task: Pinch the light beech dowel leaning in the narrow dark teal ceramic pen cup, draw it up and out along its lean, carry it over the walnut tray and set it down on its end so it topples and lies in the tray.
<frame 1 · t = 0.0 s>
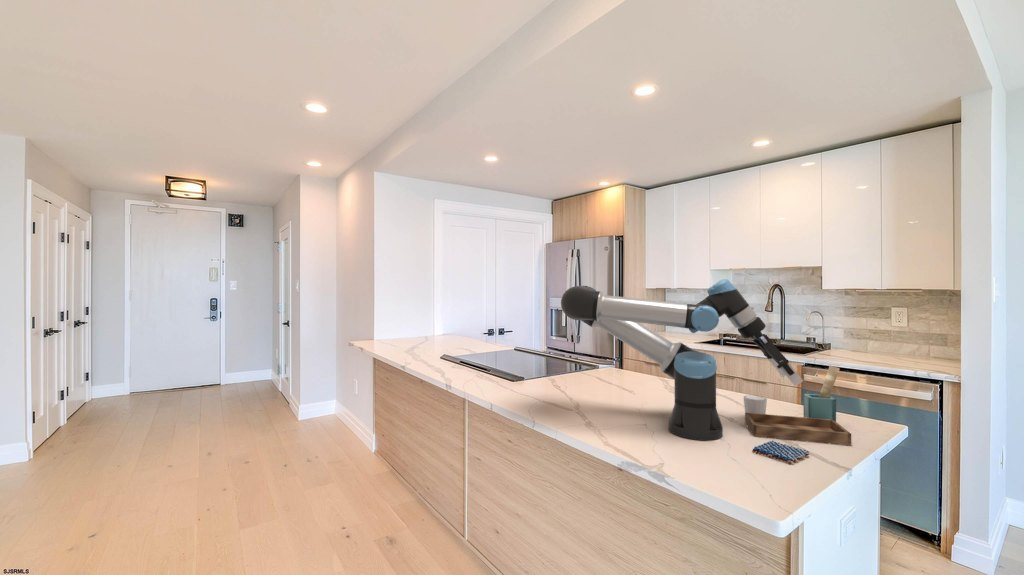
hand: (792, 378, 136), 15 cm above the table, tool tilted 35°, fingers open, 13 cm apart
tray: (794, 433, 131), on the table
woven mat: (781, 457, 115), on the table
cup: (819, 424, 140), on the table
shot glass: (755, 419, 146), on the table
dowel: (825, 393, 139), point 10 cm above the table, touching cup
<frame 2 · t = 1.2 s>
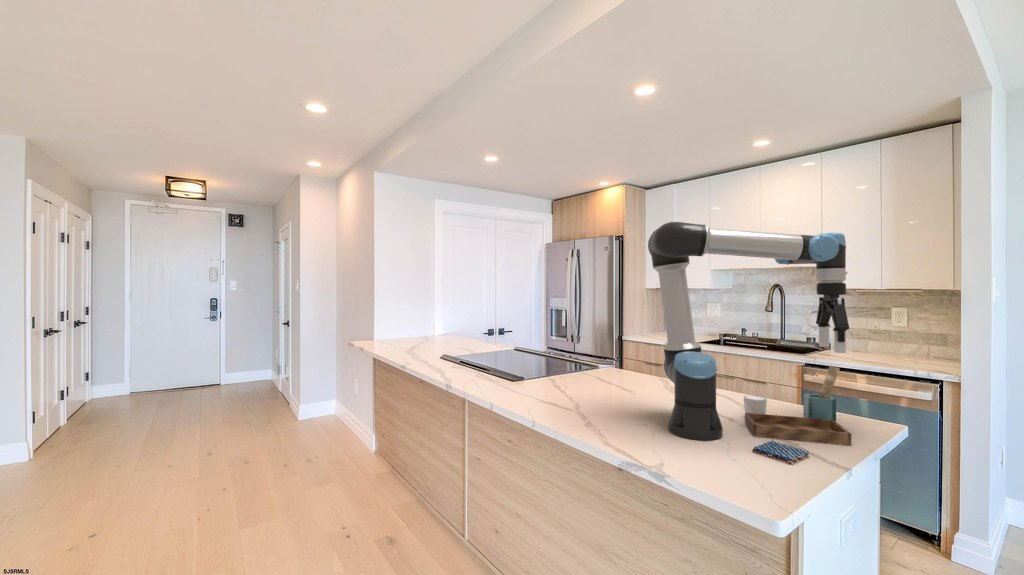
hand: (831, 349, 138), 24 cm above the table, tool pointing down, fingers open, 13 cm apart
nothing on the table moved.
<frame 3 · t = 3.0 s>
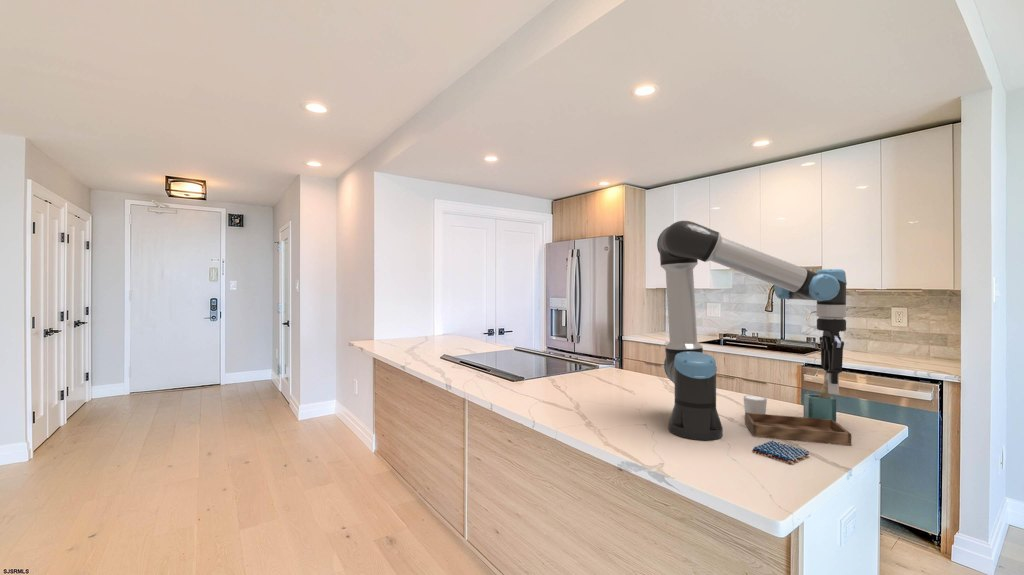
hand: (831, 392, 139), 11 cm above the table, tool pointing down, fingers closed on dowel, 2 cm apart
dowel: (825, 393, 139), point 10 cm above the table, touching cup, gripper
everything else where it was.
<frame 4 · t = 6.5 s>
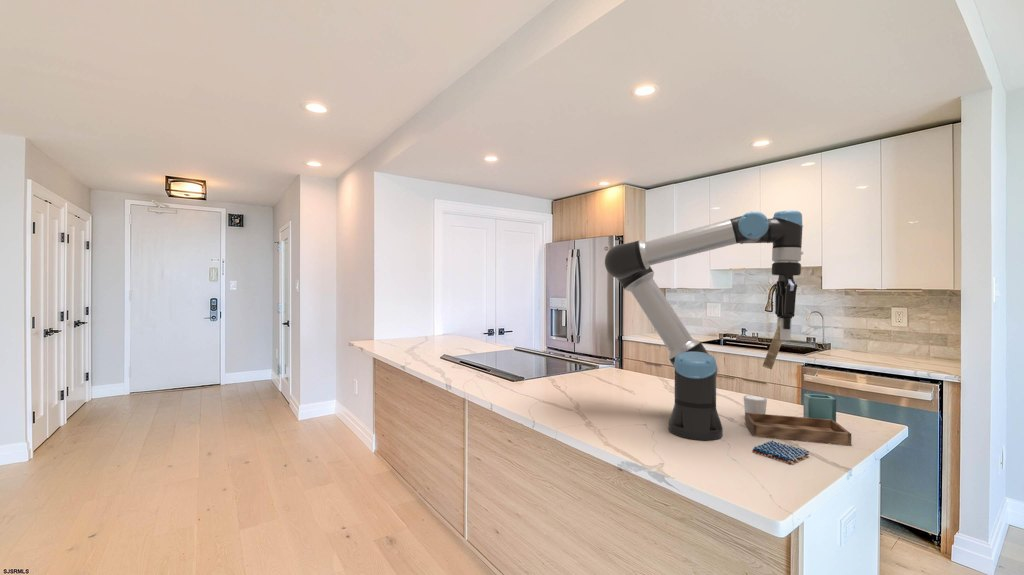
hand: (783, 339, 134), 28 cm above the table, tool pointing down, fingers closed on dowel, 2 cm apart
dowel: (777, 340, 135), point 27 cm above the table, touching gripper
everything else where it was.
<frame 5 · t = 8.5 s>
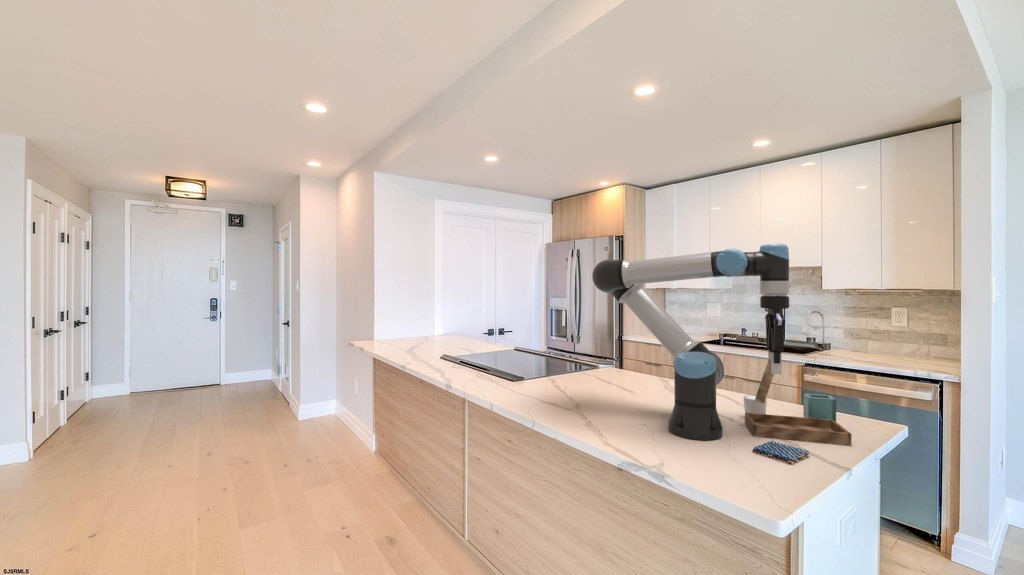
hand: (774, 372, 133), 18 cm above the table, tool pointing down, fingers closed on dowel, 2 cm apart
dowel: (768, 374, 133), point 17 cm above the table, touching gripper
everything else where it was.
when the fingers open (11 cm above the table, at t = 9.8 s): dowel drops 9 cm and tips over, resting on tray.
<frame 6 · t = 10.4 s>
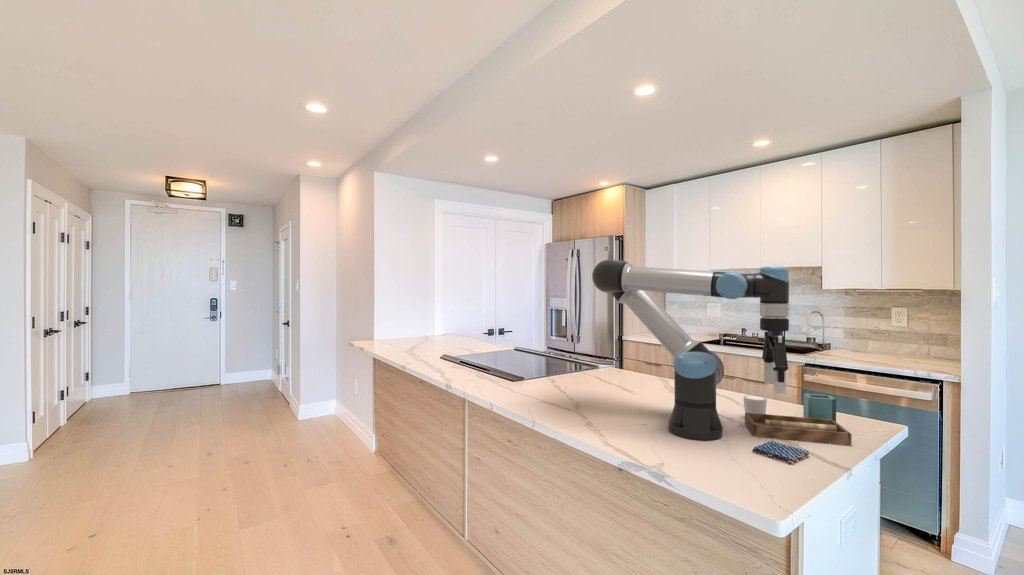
hand: (774, 388, 133), 13 cm above the table, tool pointing down, fingers open, 13 cm apart
dowel: (799, 426, 131), point 2 cm above the table, tilted 75°, touching tray
everything else where it was.
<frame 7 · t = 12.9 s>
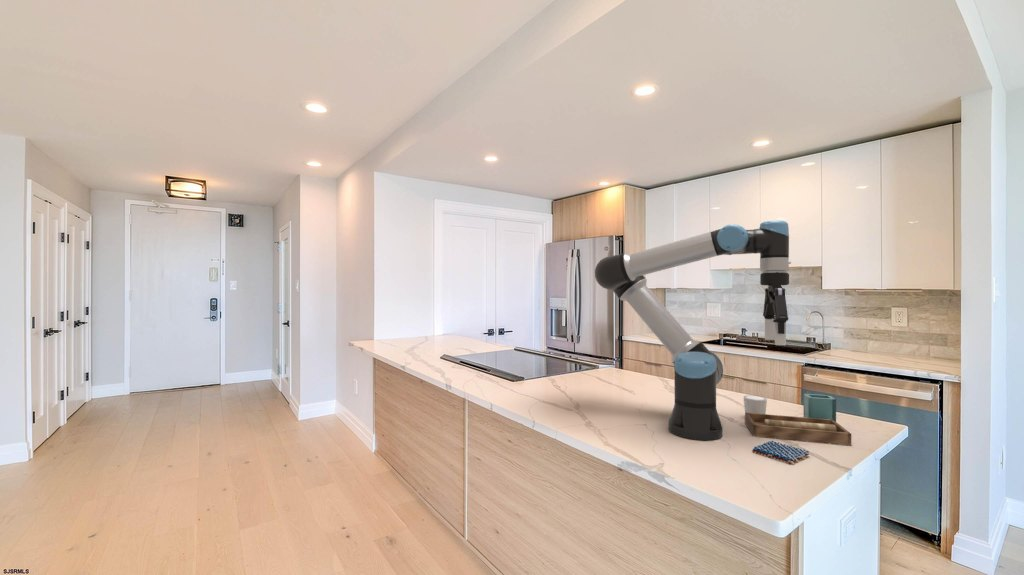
hand: (774, 342, 133), 27 cm above the table, tool pointing down, fingers open, 13 cm apart
nothing on the table moved.
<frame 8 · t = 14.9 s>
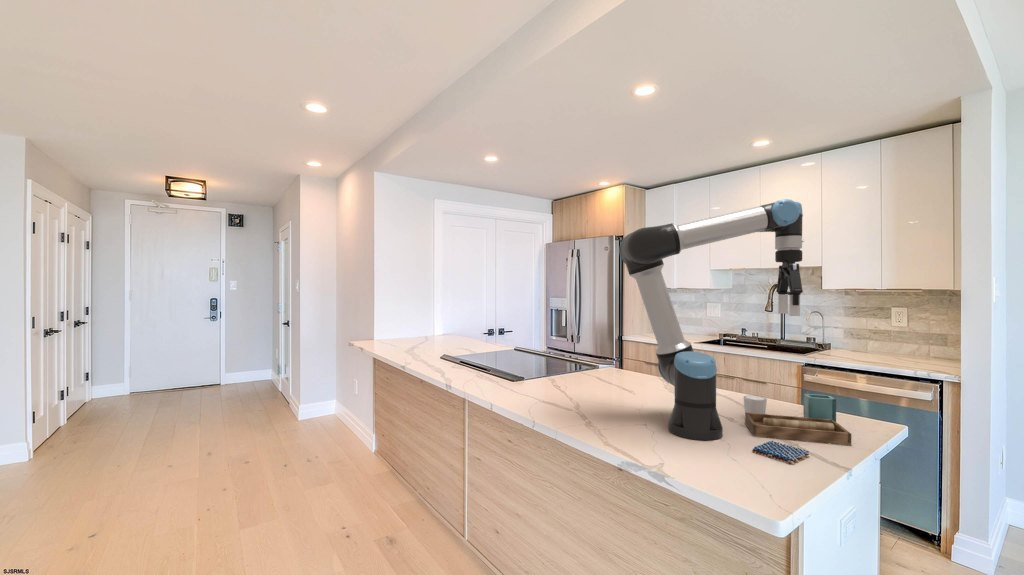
hand: (788, 314, 144), 35 cm above the table, tool pointing down, fingers open, 13 cm apart
dowel: (797, 424, 133), point 2 cm above the table, tilted 91°, touching tray
everything else where it was.
at the end: dowel inside the target area on the tray (2.8 cm from its centre), point 2.1 cm above the tray's base; dowel tilted 93°; the gripper is holding nothing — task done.
